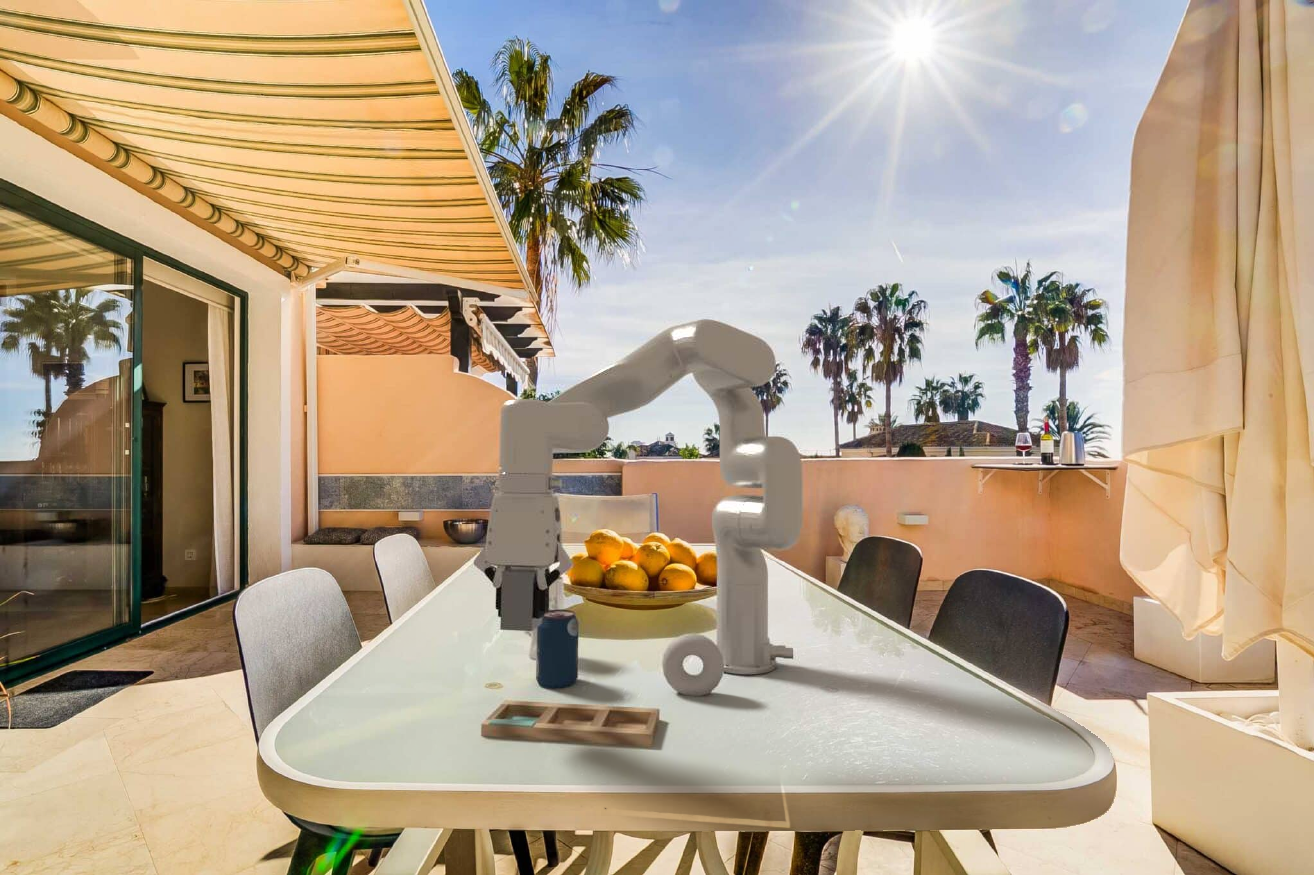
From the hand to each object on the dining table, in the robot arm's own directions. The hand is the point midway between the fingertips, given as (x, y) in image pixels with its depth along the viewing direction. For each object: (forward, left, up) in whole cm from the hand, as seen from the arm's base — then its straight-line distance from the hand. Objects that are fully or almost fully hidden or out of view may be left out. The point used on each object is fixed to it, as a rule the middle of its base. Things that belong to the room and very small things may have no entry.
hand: (521, 614), depth 90 cm
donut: (-23, -16, -16) cm, 32 cm away
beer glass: (+7, -34, -16) cm, 38 cm away
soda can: (0, -18, -16) cm, 24 cm away
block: (0, 0, -2) cm, 2 cm away
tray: (-8, 0, -16) cm, 17 cm away
